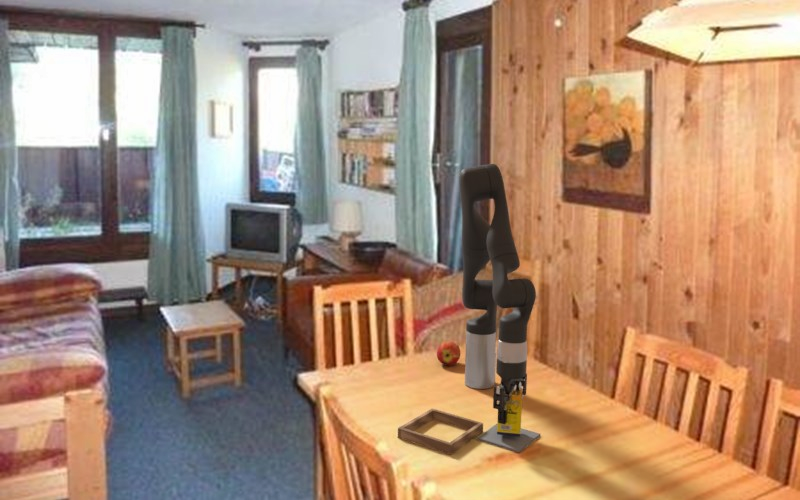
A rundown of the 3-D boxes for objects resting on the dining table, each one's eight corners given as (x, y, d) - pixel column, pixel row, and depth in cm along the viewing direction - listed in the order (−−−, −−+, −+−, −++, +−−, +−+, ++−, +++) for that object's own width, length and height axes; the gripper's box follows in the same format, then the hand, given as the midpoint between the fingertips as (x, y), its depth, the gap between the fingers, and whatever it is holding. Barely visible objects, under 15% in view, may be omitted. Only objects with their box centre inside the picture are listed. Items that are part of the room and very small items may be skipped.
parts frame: (432, 417, 189) (432, 408, 189) (483, 432, 180) (483, 423, 179) (397, 437, 176) (397, 428, 176) (450, 454, 167) (450, 445, 167)
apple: (435, 367, 229) (435, 344, 227) (438, 359, 237) (438, 337, 236) (459, 369, 227) (459, 346, 226) (461, 361, 236) (461, 338, 234)
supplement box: (520, 437, 173) (522, 396, 171) (496, 434, 174) (497, 394, 172) (521, 427, 179) (522, 387, 177) (498, 425, 180) (499, 385, 178)
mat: (499, 424, 185) (499, 422, 185) (540, 435, 178) (540, 433, 178) (476, 439, 175) (476, 437, 175) (519, 452, 168) (519, 450, 168)
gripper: (511, 346, 181) (509, 405, 184) (484, 361, 169) (482, 423, 172) (537, 352, 176) (534, 412, 179) (512, 367, 165) (509, 431, 168)
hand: (509, 417), depth 176 cm, fingers closed on supplement box, 7 cm apart
